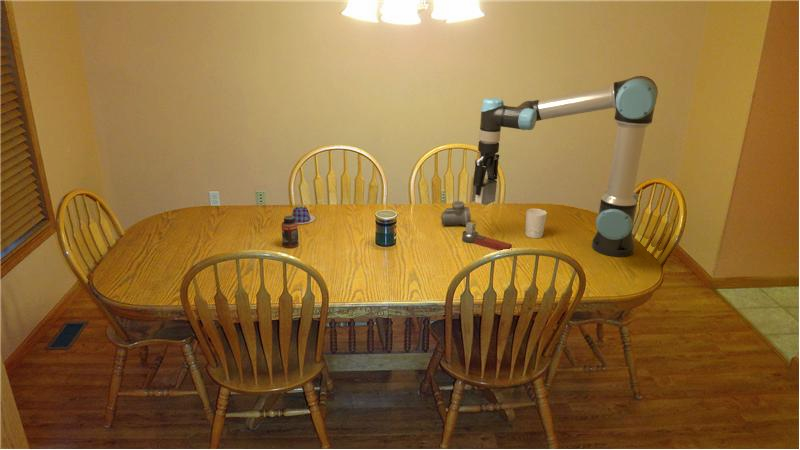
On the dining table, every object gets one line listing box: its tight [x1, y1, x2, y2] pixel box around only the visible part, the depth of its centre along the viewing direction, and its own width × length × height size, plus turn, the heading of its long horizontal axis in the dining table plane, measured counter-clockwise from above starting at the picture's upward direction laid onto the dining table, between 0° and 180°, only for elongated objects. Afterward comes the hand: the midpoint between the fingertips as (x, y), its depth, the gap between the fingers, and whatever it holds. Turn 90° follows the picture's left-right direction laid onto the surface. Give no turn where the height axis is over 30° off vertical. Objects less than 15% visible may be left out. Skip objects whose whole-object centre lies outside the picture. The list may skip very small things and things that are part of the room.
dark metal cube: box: [471, 177, 498, 206], centre depth 222 cm, size 6×6×8 cm
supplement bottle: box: [281, 214, 300, 249], centre depth 217 cm, size 6×6×11 cm
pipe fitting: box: [440, 200, 472, 227], centre depth 241 cm, size 12×8×10 cm
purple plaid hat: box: [291, 206, 316, 225], centre depth 244 cm, size 12×12×5 cm
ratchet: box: [461, 221, 513, 251], centre depth 222 cm, size 20×6×7 cm, turn 53°
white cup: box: [525, 208, 548, 239], centre depth 232 cm, size 8×8×10 cm
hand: (483, 200), depth 223 cm, fingers closed on dark metal cube, 6 cm apart
